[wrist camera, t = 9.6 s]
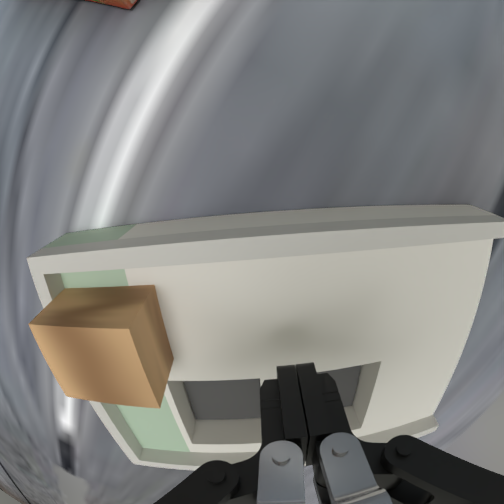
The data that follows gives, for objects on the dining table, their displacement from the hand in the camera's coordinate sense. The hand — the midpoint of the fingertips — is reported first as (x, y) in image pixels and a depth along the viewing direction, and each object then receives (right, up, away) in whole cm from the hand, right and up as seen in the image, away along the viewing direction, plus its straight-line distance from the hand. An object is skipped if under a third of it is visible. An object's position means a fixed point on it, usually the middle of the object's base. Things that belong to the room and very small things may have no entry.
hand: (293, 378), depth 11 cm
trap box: (+1, -2, +9) cm, 9 cm away
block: (-9, +1, +4) cm, 10 cm away
